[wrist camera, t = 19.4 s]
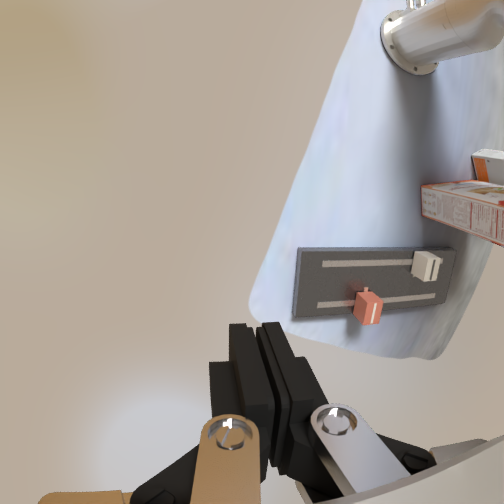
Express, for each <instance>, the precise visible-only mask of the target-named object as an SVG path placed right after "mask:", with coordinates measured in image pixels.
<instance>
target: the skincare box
mask: <svg viewBox="0 0 504 504" xmlns="http://www.w3.org/2000/svg"><path fill="white" fill-rule="evenodd" d="M472 158H473V163H474V167H475V172H476V177H477V181H481V182H487V183H491V184H496V185H501V186H504V151H498V150H490V149H481V150H479V151H478V152H476V153H474V154H472Z"/></svg>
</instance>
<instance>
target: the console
mask: <svg viewBox="0 0 504 504" xmlns="http://www.w3.org/2000/svg"><path fill="white" fill-rule="evenodd" d="M415 251H428V252H430V253H432V254H434V255H436V256H438V257H439V258H441V260H440V265H439V270H438V275H437V279H436V281H422V280H421V279H419V278H417V277H416V276H414V275H413V274H411V270H412V264H413V259H414V253H415ZM455 256H456V250H454V249H452V248H423V247H336V248H298V253H297V265H296V276H295V287H294V297H293V307H292V312H293V314H294V316H295V317H307V316H322V315H336V314H348V313H353V311H354V306H355V300H356V294H357V292H371V291H372V292H373V293H375V294H376V295H377V296H378V297H379V298H380V299H381V300H383V301H384V302H383V307H382V310H391V309H400V308H409V307H418V306H426V305H434V304H442V303H445V299H446V295H447V291H448V287H449V283H450V279H451V274H452V270H453V265H454V261H455Z"/></svg>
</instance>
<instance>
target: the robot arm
mask: <svg viewBox="0 0 504 504" xmlns="http://www.w3.org/2000/svg"><path fill="white" fill-rule="evenodd" d="M406 3H407V8H406V10H397V11H393V12H391V13H390V14H388V15H387V16H386V17H385V18H384V19H383V22H382V25H381V37H382V42H383V44H384V47H385V49H386V51H387V52H388V54H389V56H390V57H391V58H392V60H393V61H394V62H395V63H396V64H397V65H398V66H399V67H401V68H402V69H403V70H405V71H407V72H409V73H411V74H414V75H425V74H429V73H431V72H433V71H434V70H435V69H436V68H437V66H438V64H439V62H440V61H444V60H448V59H452V58H456V57H461V56H465V55H469V54H474V53H478V52H483V51H487V50H491V49H493V48H495V47H496V46H497V45H498V44H499V43H500V42H501V40H502V39H503V36H504V0H434V1H432V2H430V3H428V4H426V0H416V6H417V9H415V8H414V0H406ZM209 375H210V393H211V408H212V419H211V420H209V421H208V422H207V423H206V424H205V425H204V427H203V429H202V431H201V438H200V444H198V445H197V446H196V447H195V448H193V449H192V450H191V451H189V452H188V453H186V454H185V455H184V456H182V457H181V458H180V459H178V460H177V461H176V462H174V463H173V464H171V465H170V466H169V467H167V468H166V469H164V470H163V471H161V472H160V473H159V474H157V475H156V476H154V477H153V478H151V479H150V480H148V481H147V482H145V483H144V484H142V485H141V486H139V487H138V488H137V489H136V490H135V491H134V492H129V493H122V492H121V490H116V491H99V492H54V493H49V494H47V495H45V496H44V497H42V498H41V500H40V501H39V502H38V504H261V496H260V484H261V483H262V482H263V481H264V480H265V479H266V472H267V466H268V459H269V460H270V464H271V466H272V467H277V468H278V471H279V475H287V476H288V477H290V478H292V479H294V480H295V483H296V487H297V489H298V491H299V493H300V495H301V497H302V498H303V500H304V502H305V504H504V435H502V436H500V437H497V438H494V439H492V440H490V441H486V440H483V439H474V440H470V441H465V442H460V443H455V444H451V445H446V446H440V447H434V448H431V449H430V451H427V450H425V449H422V448H420V447H417V446H413V445H410V444H407V443H404V442H401V441H398V440H394V439H391V438H388V437H385V436H382V435H380V434H377V433H375V432H374V431H373V430H372V428H371V427H370V426H369V425H368V424H367V422H366V421H365V420H364V419H363V418H362V417H361V415H360V414H359V413H358V412H357V411H356V410H354V409H353V408H351V407H349V406H346V405H343V404H333V403H332V404H329V403H328V401H327V399H326V397H325V395H324V393H323V391H322V389H321V387H320V385H319V383H318V381H317V379H316V377H315V375H314V373H313V371H312V369H311V367H310V365H309V363H308V361H307V359H306V358H305V357H295V356H294V354H293V351H292V350H291V347H290V345H289V343H288V340H287V338H286V336H285V334H284V332H283V330H282V327H281V325H280V323H279V322H267V323H262V327H257V328H256V338H255V335H254V332H253V328H252V327H247V325H246V323H243V324H229V361H226V362H209Z"/></svg>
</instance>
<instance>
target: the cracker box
mask: <svg viewBox="0 0 504 504" xmlns="http://www.w3.org/2000/svg"><path fill="white" fill-rule="evenodd" d="M421 202H422V216H424V217H427V218H429V219H432V220H435V221H438V222H441V223H443V224H446V225H449V226H451V227H454V228H457V229H459V230H462V231H465V232H467V233H470V234H472V235H475V236H477V237H480V238H482V239H485V240H487V241H490V242H492V243H495V244H497V245H499V246H502V247H504V186H501V185H496V184H491V183H487V182H481V181H476V180H465V181H456V182H446V183H438V184H429V185H421Z"/></svg>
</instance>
